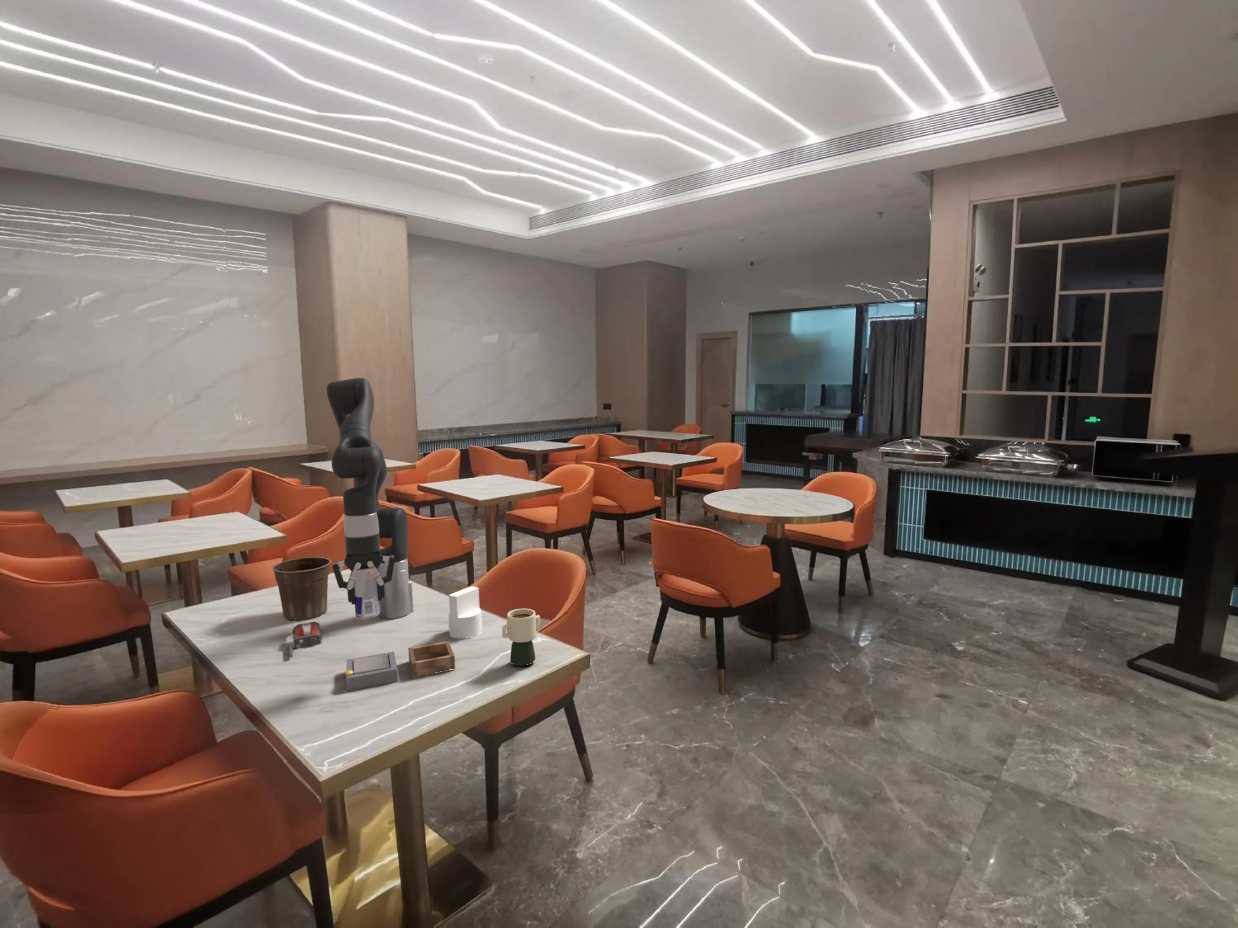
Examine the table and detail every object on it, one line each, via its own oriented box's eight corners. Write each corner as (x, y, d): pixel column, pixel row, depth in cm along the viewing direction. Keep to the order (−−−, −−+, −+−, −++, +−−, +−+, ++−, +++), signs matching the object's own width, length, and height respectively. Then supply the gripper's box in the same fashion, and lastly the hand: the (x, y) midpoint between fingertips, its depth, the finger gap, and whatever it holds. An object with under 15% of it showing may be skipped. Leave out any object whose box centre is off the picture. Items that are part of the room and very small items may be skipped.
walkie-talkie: (285, 635, 176) (285, 662, 159) (284, 620, 176) (284, 645, 158) (319, 629, 180) (323, 654, 163) (318, 614, 180) (322, 638, 162)
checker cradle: (394, 662, 156) (394, 649, 156) (397, 681, 146) (396, 666, 146) (346, 671, 152) (345, 657, 152) (346, 690, 142) (345, 675, 142)
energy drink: (360, 611, 150) (356, 563, 148) (382, 610, 150) (379, 563, 149) (352, 620, 145) (348, 570, 143) (375, 619, 145) (372, 569, 144)
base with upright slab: (465, 640, 169) (463, 598, 168) (442, 634, 174) (440, 593, 173) (488, 629, 177) (487, 589, 176) (466, 623, 182) (464, 584, 180)
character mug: (533, 652, 161) (531, 604, 160) (549, 661, 156) (547, 611, 154) (496, 665, 154) (494, 614, 152) (511, 674, 149) (509, 622, 147)
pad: (388, 659, 154) (387, 653, 154) (389, 672, 147) (389, 666, 147) (354, 665, 151) (353, 659, 151) (354, 678, 144) (353, 672, 144)
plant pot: (343, 612, 193) (340, 562, 191) (289, 628, 181) (284, 574, 179) (321, 601, 203) (317, 553, 201) (268, 615, 191) (263, 564, 189)
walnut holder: (449, 653, 161) (448, 641, 161) (455, 669, 152) (454, 655, 152) (409, 661, 157) (408, 647, 157) (412, 677, 148) (411, 663, 148)
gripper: (393, 525, 151) (397, 592, 153) (328, 532, 146) (334, 601, 148) (395, 532, 144) (399, 602, 146) (327, 538, 139) (333, 611, 141)
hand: (366, 601), depth 147 cm, fingers closed on energy drink, 5 cm apart
